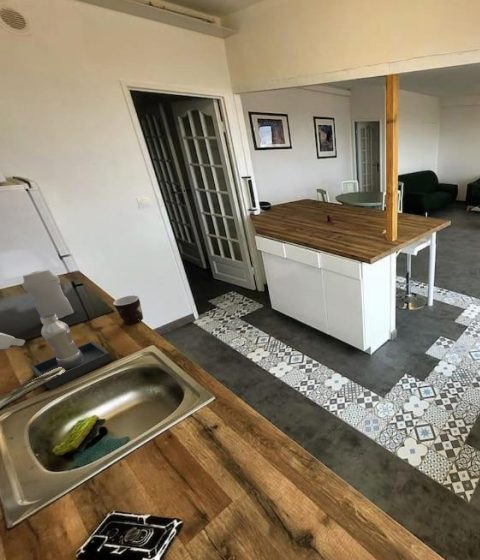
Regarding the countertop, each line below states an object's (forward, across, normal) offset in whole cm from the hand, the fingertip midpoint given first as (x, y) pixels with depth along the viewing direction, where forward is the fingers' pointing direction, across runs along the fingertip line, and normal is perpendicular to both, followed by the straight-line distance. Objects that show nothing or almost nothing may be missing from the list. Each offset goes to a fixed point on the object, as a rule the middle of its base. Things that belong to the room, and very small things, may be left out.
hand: (12, 339), depth 93 cm
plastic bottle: (+18, +2, -6) cm, 19 cm away
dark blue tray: (+19, +2, -6) cm, 20 cm away
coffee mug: (+38, -9, +13) cm, 41 cm away
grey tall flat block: (+33, -42, +7) cm, 54 cm away
